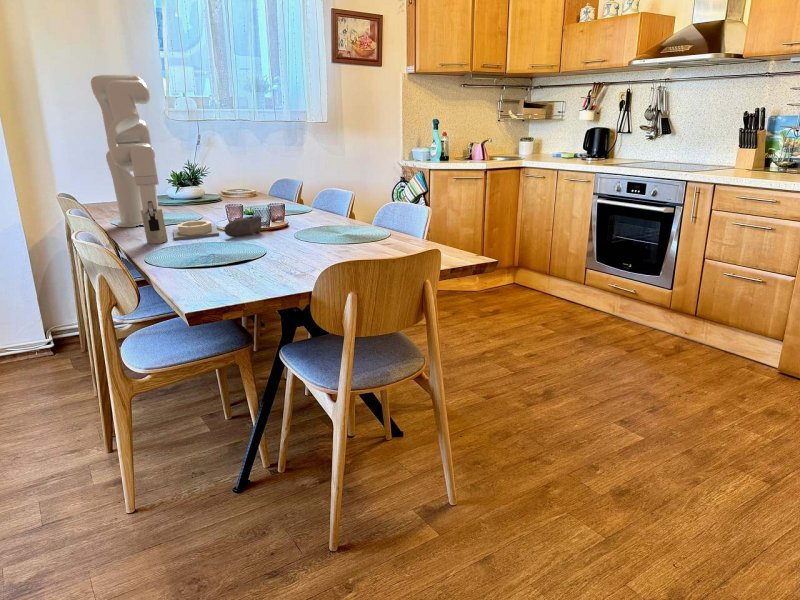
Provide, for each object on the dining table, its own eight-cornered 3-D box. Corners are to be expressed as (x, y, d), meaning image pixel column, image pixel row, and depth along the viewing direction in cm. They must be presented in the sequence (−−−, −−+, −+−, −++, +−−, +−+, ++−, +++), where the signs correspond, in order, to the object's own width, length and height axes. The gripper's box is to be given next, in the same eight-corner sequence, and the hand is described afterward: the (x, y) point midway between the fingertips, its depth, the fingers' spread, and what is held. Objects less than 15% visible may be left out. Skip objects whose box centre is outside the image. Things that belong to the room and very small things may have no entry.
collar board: (173, 232, 222) (171, 222, 221) (215, 227, 228) (213, 218, 227) (174, 240, 208) (172, 229, 207) (219, 235, 214) (217, 225, 213)
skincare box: (168, 241, 207) (162, 208, 203) (159, 244, 203) (154, 210, 199) (154, 240, 209) (149, 207, 205) (145, 243, 205) (140, 210, 201)
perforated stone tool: (227, 239, 207) (224, 221, 205) (223, 237, 211) (221, 219, 209) (266, 234, 214) (264, 216, 212) (262, 232, 218) (260, 214, 216)
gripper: (135, 179, 205) (144, 225, 210) (134, 184, 190) (143, 233, 195) (157, 177, 208) (165, 223, 213) (158, 182, 192) (166, 231, 198)
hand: (155, 228), depth 204 cm, fingers open, 9 cm apart
